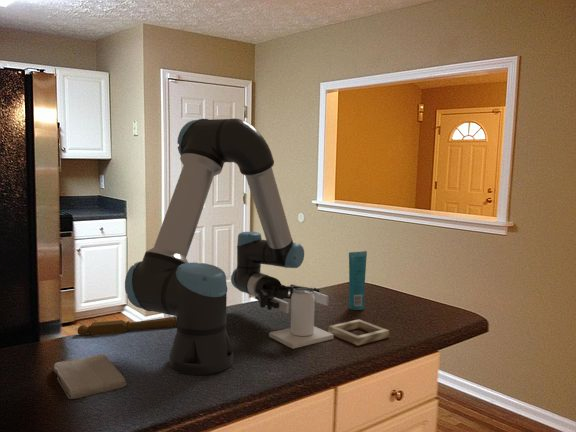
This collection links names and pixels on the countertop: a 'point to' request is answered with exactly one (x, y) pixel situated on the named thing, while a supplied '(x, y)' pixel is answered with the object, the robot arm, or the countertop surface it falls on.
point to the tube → (357, 279)
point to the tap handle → (125, 326)
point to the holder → (374, 335)
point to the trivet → (297, 341)
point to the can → (302, 312)
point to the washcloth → (88, 376)
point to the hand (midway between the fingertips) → (308, 304)
